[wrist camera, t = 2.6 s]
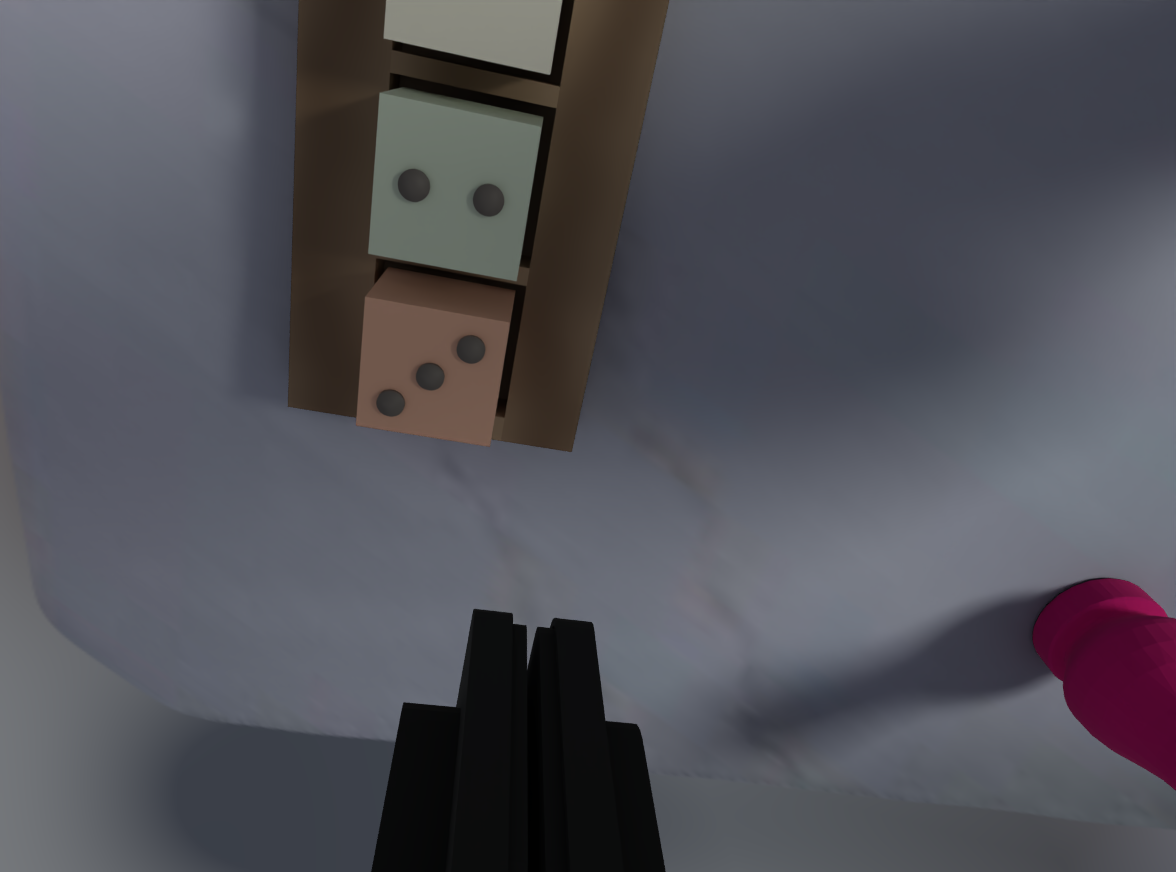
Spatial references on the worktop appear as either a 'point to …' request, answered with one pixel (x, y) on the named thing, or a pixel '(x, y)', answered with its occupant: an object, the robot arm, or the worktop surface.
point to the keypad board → (556, 211)
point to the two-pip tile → (452, 182)
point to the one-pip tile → (480, 29)
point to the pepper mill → (1116, 668)
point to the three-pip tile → (433, 356)
